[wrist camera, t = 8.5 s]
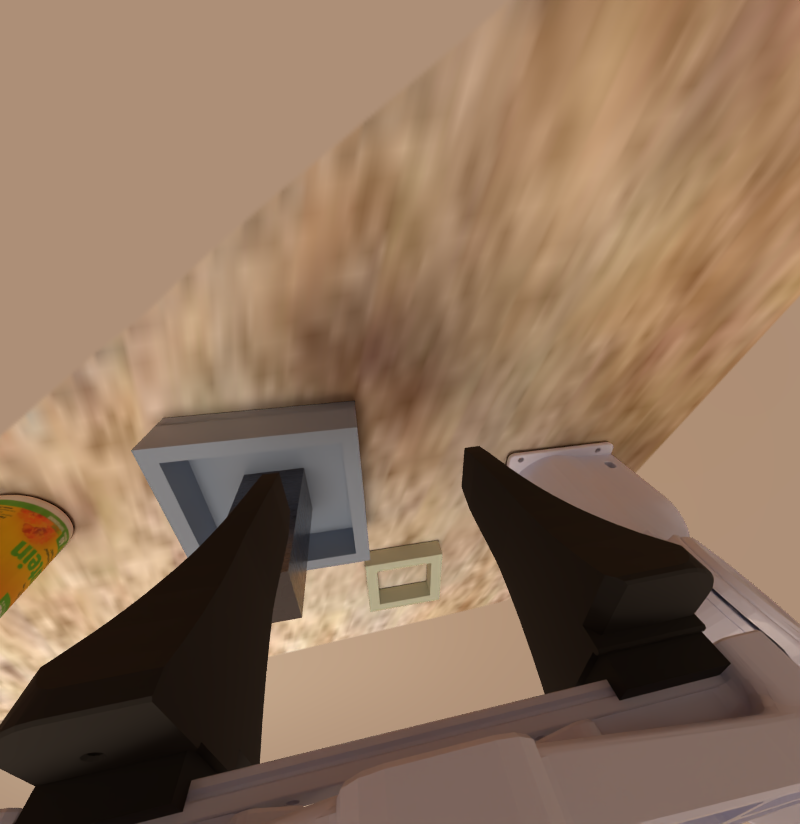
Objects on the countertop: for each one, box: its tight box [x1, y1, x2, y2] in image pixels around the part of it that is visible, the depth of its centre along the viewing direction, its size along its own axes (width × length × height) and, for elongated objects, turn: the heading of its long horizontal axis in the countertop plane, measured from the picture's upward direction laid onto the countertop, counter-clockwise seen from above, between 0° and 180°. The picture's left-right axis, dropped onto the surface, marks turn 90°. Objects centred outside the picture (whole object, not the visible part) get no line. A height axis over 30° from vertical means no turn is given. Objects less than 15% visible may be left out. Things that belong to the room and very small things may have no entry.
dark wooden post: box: [228, 468, 313, 623], centre depth 19 cm, size 4×4×8 cm
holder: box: [365, 541, 443, 612], centre depth 30 cm, size 7×7×2 cm
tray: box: [131, 401, 370, 570], centre depth 22 cm, size 12×12×4 cm
